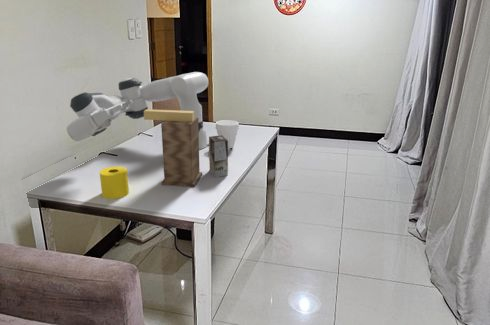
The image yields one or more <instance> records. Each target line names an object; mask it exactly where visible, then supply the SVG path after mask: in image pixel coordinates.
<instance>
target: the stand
mask: <svg viewBox="0 0 490 325" xmlns="http://www.w3.org/2000/svg"><path fill="white" fill-rule="evenodd" d="M194 119H195V120H194V121H193V122H189V121H167V120H162V122H161V123H160V124H161V126H160V128H161V143H162V146H161V147H162V160H163V162H162V163H163V175H164V176H163V180H161V182H160V183H161V186H174V187H175V186H176V187H190V188H195V187H196V185H197V184H198V182H199V181H200V179H201V178H202V176H203V172H202V171H200V149H199V130H198V117H194Z"/></svg>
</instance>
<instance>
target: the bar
mask: <svg viewBox="0 0 490 325" xmlns="http://www.w3.org/2000/svg"><path fill="white" fill-rule="evenodd" d="M143 120H148V121H149V120H150V121H164V120H167V121H189V122H193V121H194V120H195V119H194V111H181V110H176V109H174V110H173V109H150V108H148V109H146V110H145V111H144V117H143Z"/></svg>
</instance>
